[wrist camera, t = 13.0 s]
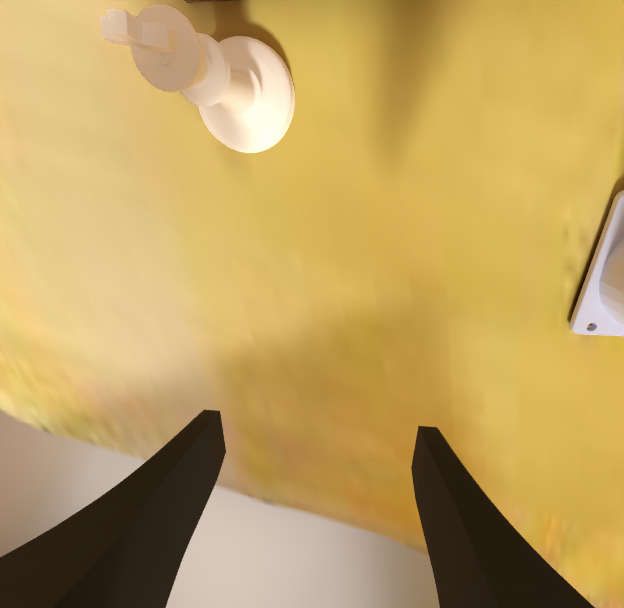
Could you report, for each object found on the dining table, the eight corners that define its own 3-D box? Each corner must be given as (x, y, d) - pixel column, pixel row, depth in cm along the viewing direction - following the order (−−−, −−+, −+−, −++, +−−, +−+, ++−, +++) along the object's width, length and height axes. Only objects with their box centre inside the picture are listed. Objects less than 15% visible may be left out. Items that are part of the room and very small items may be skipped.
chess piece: (200, 31, 15) (-16, -156, 6) (301, 46, 15) (229, -122, 6) (199, 144, 17) (35, 127, 8) (288, 159, 17) (220, 159, 8)
